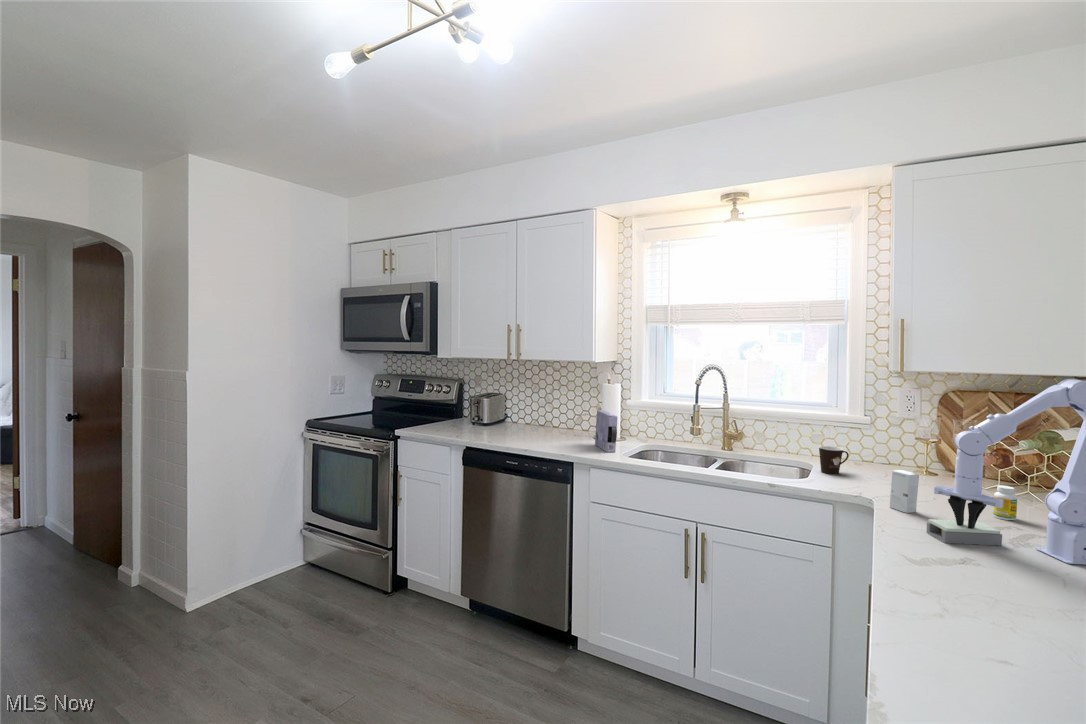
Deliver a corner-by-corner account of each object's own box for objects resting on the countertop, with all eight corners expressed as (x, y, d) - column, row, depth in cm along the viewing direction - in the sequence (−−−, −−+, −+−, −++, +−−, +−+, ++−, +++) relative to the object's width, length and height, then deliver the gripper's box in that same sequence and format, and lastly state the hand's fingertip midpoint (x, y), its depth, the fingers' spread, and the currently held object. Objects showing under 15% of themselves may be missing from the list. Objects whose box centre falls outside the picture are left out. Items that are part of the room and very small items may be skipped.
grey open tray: (1001, 545, 137) (1002, 534, 137) (944, 543, 138) (945, 531, 138) (980, 535, 144) (980, 524, 144) (926, 532, 146) (926, 522, 146)
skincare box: (888, 507, 169) (890, 470, 168) (899, 506, 170) (901, 469, 169) (907, 513, 163) (908, 474, 162) (917, 512, 164) (919, 473, 164)
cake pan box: (617, 453, 245) (618, 415, 244) (607, 453, 244) (608, 415, 243) (604, 445, 264) (604, 410, 263) (594, 445, 263) (595, 410, 262)
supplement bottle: (996, 514, 164) (997, 483, 163) (1018, 519, 159) (1020, 487, 159) (990, 517, 161) (991, 486, 160) (1012, 522, 156) (1014, 490, 156)
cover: (1000, 533, 137) (1000, 530, 137) (946, 531, 138) (946, 528, 138) (979, 524, 144) (979, 521, 144) (928, 522, 145) (928, 519, 145)
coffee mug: (820, 474, 212) (821, 449, 211) (816, 469, 220) (816, 445, 219) (853, 476, 208) (854, 451, 208) (847, 471, 216) (848, 447, 216)
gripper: (1009, 481, 136) (1006, 533, 136) (943, 469, 148) (940, 516, 148) (998, 484, 132) (995, 538, 132) (931, 471, 144) (929, 520, 145)
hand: (965, 527), depth 140 cm, fingers closed on cover, 2 cm apart
